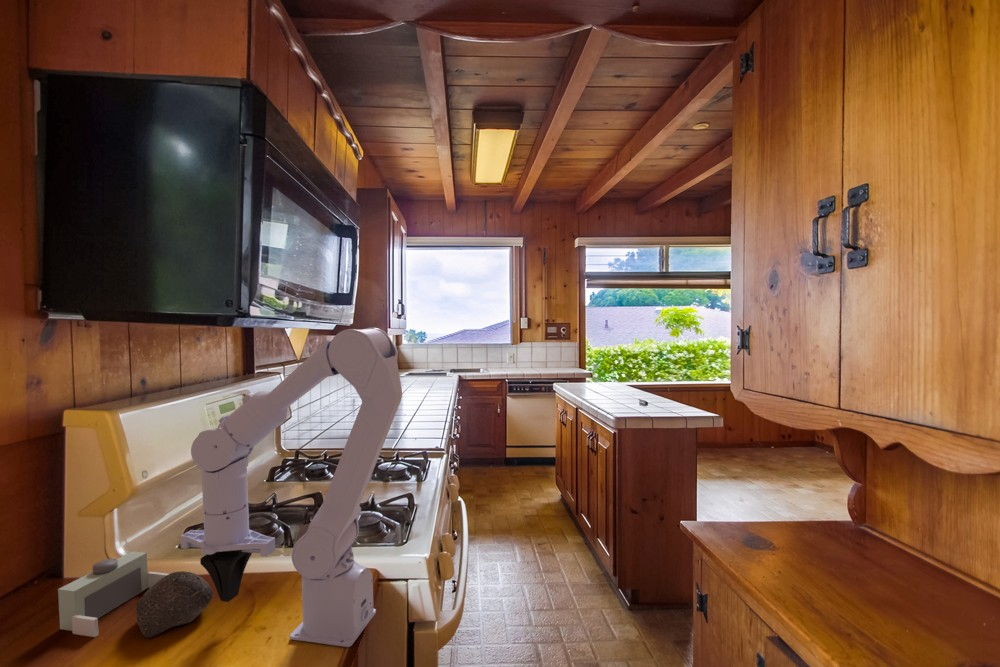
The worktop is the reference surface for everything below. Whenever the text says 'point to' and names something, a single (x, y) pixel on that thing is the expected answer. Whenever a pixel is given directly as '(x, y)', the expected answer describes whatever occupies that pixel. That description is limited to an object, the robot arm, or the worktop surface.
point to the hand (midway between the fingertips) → (229, 597)
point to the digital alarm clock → (103, 591)
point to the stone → (172, 602)
